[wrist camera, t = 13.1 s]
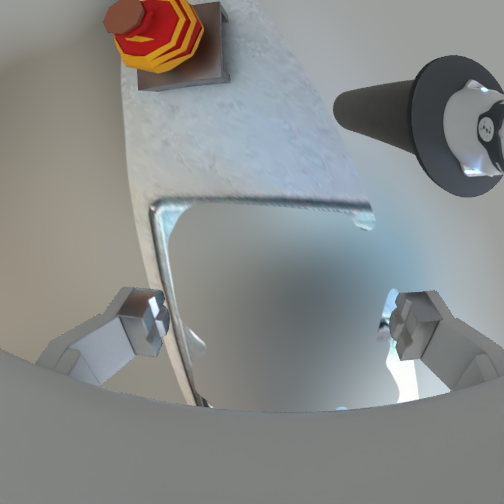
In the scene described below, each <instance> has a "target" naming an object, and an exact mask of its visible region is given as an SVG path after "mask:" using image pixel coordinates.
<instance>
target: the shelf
mask: <svg viewBox="0 0 504 504" xmlns="http://www.w3.org/2000/svg"><path fill="white" fill-rule="evenodd" d="M192 7H193V8H194V10H195V12H196V14H197V16H198V18H199V20H200V21H201V23H202V25H203V27H204V32H203V34H202V37H201V39H200V42H199V45H198V47H197V49H196V51H195V53H194V54H193V56H192V57H190V58H189V59H187V60H185V61H183V62H182V63H180V64H179V65H178V66H176V67H174V68H173V69H171V70H169V71H166V72H162V73H159V74H158V73H154V72H149V71H145V70H140V69H137V74H138V90H141V91H156V92H158V91H164V90H170V89H176V88H183V87H190V86H198V85H207V84H217V83H230V75H228V74H227V73H226V72H224V71H223V56H222V22H228V16H227V14H226V12H225V10H224V9H223V7H222V5H221V3H220V2H212V3H205V4H198V5H192Z"/></svg>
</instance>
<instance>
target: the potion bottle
mask: <svg viewBox="0 0 504 504" xmlns="http://www.w3.org/2000/svg"><path fill="white" fill-rule="evenodd" d="M103 23H104V25H105V27H106V30H107V32H108V33H114V34H115V36H114V41H115V44H116V46H117V48H118V51H119V53H120V55H121V58H122V60H123V62H124V64H125V65H126V66H127V67H132V68H136V69H140V70H145V71H149V72H154V73H158V74H159V73H162V72H166V71H169V70H171V69H173V68H174V67H176V66H178V65H179V64H180V63H182V62H183V61H185V60H187V59H189V58H190V57H192V56H193V54H194V53H195V51H196V49H197V47H198V45H199V42H200V39H201V37H202V34H203V32H204V27H203V25H202V23H201V21H200V20H199V18H198V16H197V14H196V12H195V10H194V8H193V7H192V5H191V4H189V3H188V2H187V0H143V1H139V0H119V1H118V2H116V3H115V4H114V5H112V6H111V7H110V8H109V9H108V12H107V14H106V17H105V19H104V21H103Z"/></svg>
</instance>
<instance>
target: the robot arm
mask: <svg viewBox="0 0 504 504" xmlns="http://www.w3.org/2000/svg"><path fill="white" fill-rule="evenodd" d="M443 126H444V133H445V137H446V141H447V143H448V146H449V148H450V150H451V151H452V153H453V154H454V155H455V157H456V158H457V159H458V160H459V162H460V165H461V168H462V171H463V173H464V175H466V176H469V177H472V176H485V175H488V176H490V177H493V175H502V174H504V94H501V93H499V92H498V91H496V90H490V89H487V88H485V87H484V86H483V85H481V84H480V83H478V82H477V81H475V80H468V82H467V83H466V85H465V86H464V88H463V89H461V90H459V91H457V92H456V93H454V94H453V95H452V96H451V97H450V99H449V100H448V102H447V105H446V107H445V111H444V118H443ZM472 169H473V171H472ZM164 301H165V297H164V294H163V292H162V291H161V290H157V289H146V288H133V287H123V288H121V289H120V291H119V292H118V294H117V295H116V296H115V298H114V299H113V300H112V302H111V303H110V305H109V306H108V307H107V309H106V310H105V312H104V313H103V314H98V315H96V316H94V317H93V318H91V319H89V320H87V321H85V322H84V323H82V324H80V325H78V326H76V327H75V328H73V329H71V330H69V331H68V332H66V333H64V334H62V335H61V336H59V337H57V338H55V339H53V340H52V341H50V343H49V344H48V345H47V347H46V348H45V350H44V351H43V353H42V354H41V356H40V357H39V358H38V360H37V361H36V363H35V364H33V363H31V362H29V361H27V360H24V359H22V358H20V357H18V356H15V355H13V354H11V353H9V352H7V351H5V350H2V349H1V348H0V504H504V349H503V348H502V347H501V346H499V345H498V344H496V343H495V342H493V341H492V340H490V339H489V338H487V337H486V336H484V335H483V334H481V333H480V332H478V331H477V330H475V329H474V328H472V327H471V326H469V325H467V324H466V323H465V322H463V321H461V320H460V319H458V318H456V319H455V318H454V317H453V315H452V314H451V312H450V310H449V309H448V307H447V306H446V304H445V302H444V301H443V299H442V298H441V297H440V295H439V293H438V292H437V291H435V290H433V291H423V292H410V293H409V292H408V293H399V294H398V296H397V298H396V301H395V303H396V305H397V308H396V309H395V310H394V311H393V312H392V313H391V317H390V322H389V329H390V334H391V336H392V338H393V339H394V340H396V341H397V344H396V346H395V347H396V350H397V353H398V355H399V358H400V361H403V360H413V359H421V361H422V362H423V363H424V364H425V365H426V366H428V368H430V369H431V371H432V372H433V373H434V374H436V375H437V377H439V378H440V380H441V381H443V382H444V384H446V385H447V387H449V389H450V390H451V391H450V392H449V393H445V394H441V395H437V396H433V397H428V398H424V399H419V400H414V401H409V402H403V403H397V404H391V405H384V406H378V407H369V408H361V409H351V410H339V411H323V412H254V411H238V410H226V409H215V408H206V407H198V406H191V405H184V404H177V403H171V402H166V401H160V400H154V399H149V398H145V397H140V396H136V395H131V394H127V393H123V392H119V391H115V390H111V389H107V388H103V386H102V384H103V383H104V382H105V381H106V380H108V379H109V378H110V377H111V376H112V375H113V374H115V373H116V372H117V371H118V370H119V369H121V368H122V367H123V366H124V365H125V364H126V363H127V362H129V361H130V360H131V359H132V358H134V357H135V355H142V356H149V357H157V356H158V353H159V351H160V348H161V346H162V340H161V338H162V337H164V336H165V335H166V334H167V332H168V329H169V323H170V317H169V312H168V309H167V308H166V307H165V306H164V305H163V303H164Z"/></svg>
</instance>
